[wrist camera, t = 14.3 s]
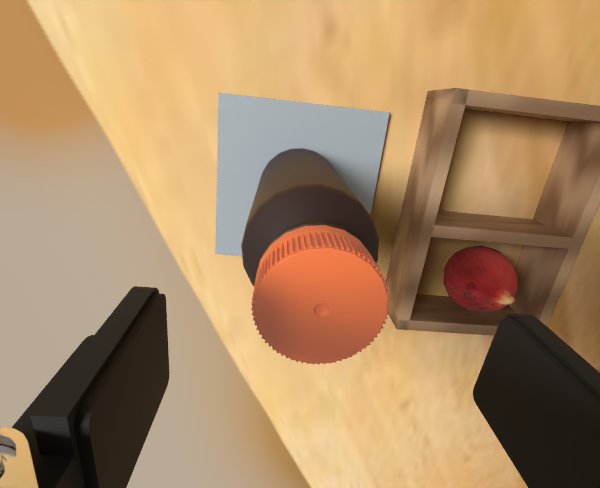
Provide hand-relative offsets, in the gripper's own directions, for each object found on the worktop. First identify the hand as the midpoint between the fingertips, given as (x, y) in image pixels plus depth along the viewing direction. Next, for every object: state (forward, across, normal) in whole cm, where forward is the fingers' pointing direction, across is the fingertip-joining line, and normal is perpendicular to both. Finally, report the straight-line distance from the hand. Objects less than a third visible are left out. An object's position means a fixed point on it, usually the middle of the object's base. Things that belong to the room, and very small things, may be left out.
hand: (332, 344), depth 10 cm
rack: (+23, -17, +2) cm, 29 cm away
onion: (+23, -17, +7) cm, 29 cm away
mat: (+23, 0, +1) cm, 23 cm away
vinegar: (+23, 0, +1) cm, 23 cm away
